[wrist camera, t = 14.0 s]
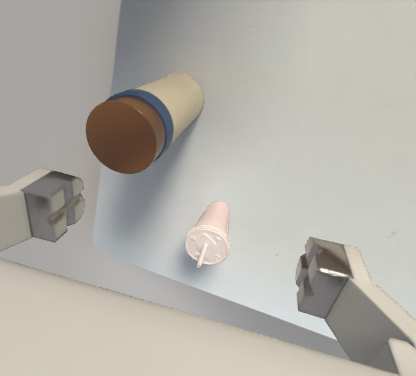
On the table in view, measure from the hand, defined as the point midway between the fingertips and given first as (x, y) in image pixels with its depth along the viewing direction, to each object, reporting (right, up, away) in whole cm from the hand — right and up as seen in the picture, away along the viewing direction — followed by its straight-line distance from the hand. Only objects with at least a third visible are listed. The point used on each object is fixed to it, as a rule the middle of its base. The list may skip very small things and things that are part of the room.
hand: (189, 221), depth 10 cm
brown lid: (-6, +6, +17) cm, 19 cm away
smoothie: (+2, -3, +39) cm, 39 cm away
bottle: (-3, +14, +31) cm, 34 cm away
